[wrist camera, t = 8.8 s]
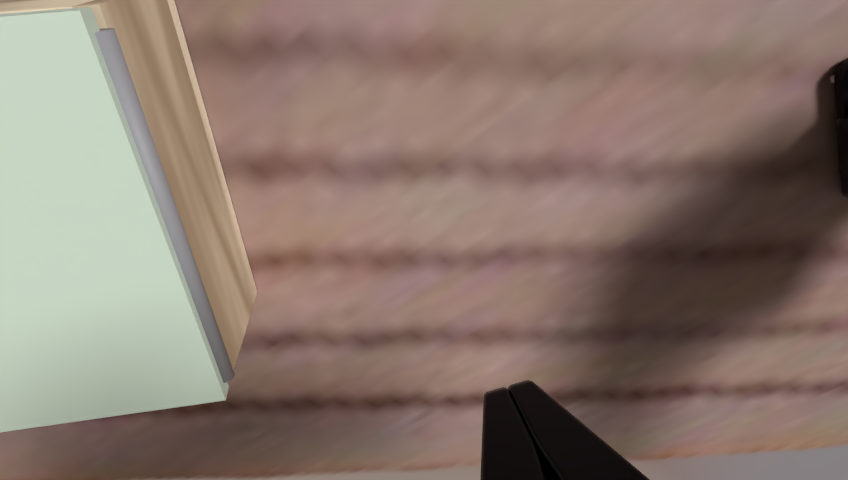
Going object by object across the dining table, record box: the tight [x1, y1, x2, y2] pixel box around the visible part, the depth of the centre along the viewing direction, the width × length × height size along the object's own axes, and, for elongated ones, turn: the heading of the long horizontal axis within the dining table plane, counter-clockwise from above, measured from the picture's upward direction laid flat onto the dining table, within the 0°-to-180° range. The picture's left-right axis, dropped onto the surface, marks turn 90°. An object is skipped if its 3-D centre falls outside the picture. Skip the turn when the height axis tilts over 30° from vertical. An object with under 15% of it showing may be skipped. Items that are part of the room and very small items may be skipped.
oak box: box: [0, 0, 257, 370], centre depth 17 cm, size 9×12×5 cm
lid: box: [0, 7, 234, 432], centre depth 14 cm, size 9×12×1 cm
